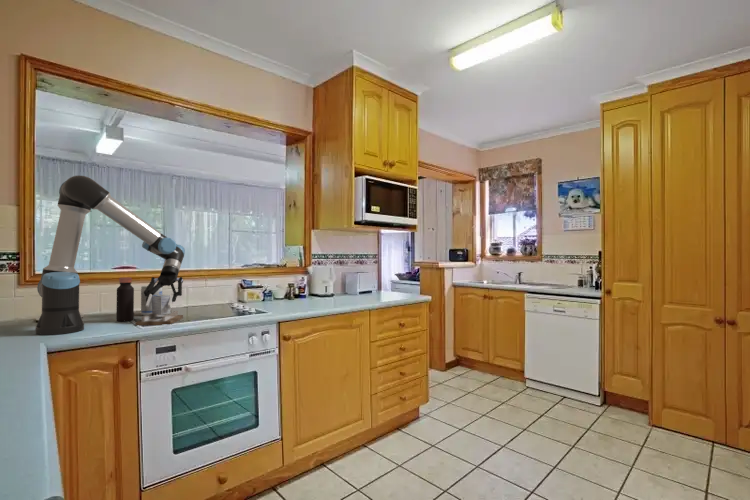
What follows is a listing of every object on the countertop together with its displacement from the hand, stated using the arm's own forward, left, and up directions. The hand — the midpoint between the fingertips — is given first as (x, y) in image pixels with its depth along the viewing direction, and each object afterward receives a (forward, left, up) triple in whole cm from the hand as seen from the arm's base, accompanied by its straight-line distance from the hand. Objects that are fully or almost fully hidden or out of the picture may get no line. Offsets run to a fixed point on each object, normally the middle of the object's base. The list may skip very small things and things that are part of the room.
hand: (158, 306), depth 175 cm
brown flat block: (0, +3, -7) cm, 8 cm away
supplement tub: (-12, +26, -7) cm, 30 cm away
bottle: (-17, +8, -7) cm, 20 cm away
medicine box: (0, +3, -4) cm, 5 cm away
